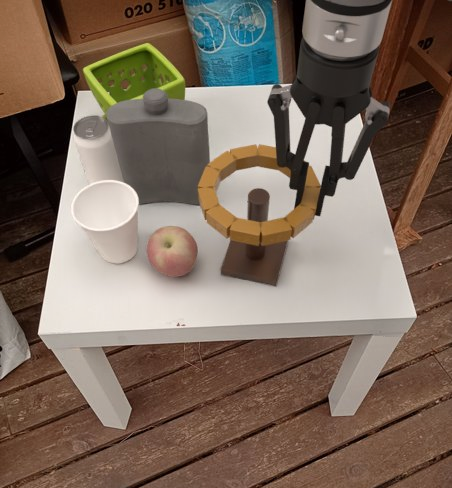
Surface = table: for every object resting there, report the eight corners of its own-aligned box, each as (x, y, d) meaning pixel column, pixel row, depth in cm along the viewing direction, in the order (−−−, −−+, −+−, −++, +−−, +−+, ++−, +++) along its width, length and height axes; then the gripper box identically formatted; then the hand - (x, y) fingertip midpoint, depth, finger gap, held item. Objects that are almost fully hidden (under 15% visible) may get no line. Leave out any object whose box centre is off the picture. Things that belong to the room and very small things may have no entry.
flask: (212, 181, 90) (207, 82, 73) (211, 206, 87) (205, 108, 70) (129, 180, 91) (105, 82, 74) (125, 204, 88) (99, 108, 71)
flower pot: (158, 99, 102) (149, 39, 92) (193, 138, 96) (188, 79, 85) (96, 124, 99) (79, 65, 88) (127, 167, 92) (113, 109, 82)
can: (85, 193, 89) (66, 140, 79) (92, 167, 92) (74, 113, 82) (122, 194, 89) (107, 140, 79) (127, 168, 92) (113, 113, 82)
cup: (134, 281, 79) (121, 238, 70) (78, 265, 81) (58, 220, 72) (158, 234, 84) (149, 188, 75) (105, 220, 86) (89, 173, 76)
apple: (140, 268, 81) (132, 237, 74) (174, 240, 83) (169, 207, 77) (176, 296, 78) (170, 266, 71) (209, 265, 81) (207, 234, 74)
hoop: (326, 168, 72) (328, 156, 70) (305, 256, 64) (307, 245, 62) (218, 148, 75) (217, 136, 73) (185, 230, 67) (183, 220, 65)
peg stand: (287, 242, 83) (297, 179, 71) (276, 286, 78) (284, 227, 66) (235, 231, 84) (235, 167, 72) (220, 274, 80) (218, 213, 67)
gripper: (254, 50, 47) (247, 216, 67) (419, 75, 45) (361, 239, 65) (271, 8, 51) (260, 176, 71) (424, 29, 49) (368, 197, 69)
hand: (308, 206), depth 68 cm, fingers closed on hoop, 2 cm apart
